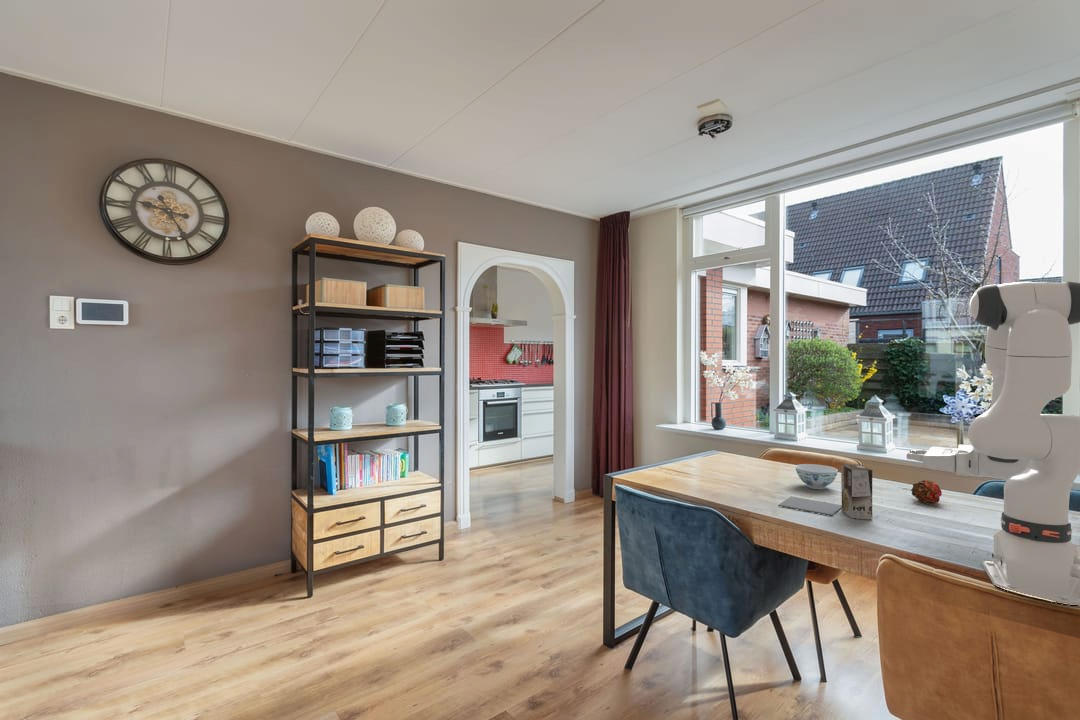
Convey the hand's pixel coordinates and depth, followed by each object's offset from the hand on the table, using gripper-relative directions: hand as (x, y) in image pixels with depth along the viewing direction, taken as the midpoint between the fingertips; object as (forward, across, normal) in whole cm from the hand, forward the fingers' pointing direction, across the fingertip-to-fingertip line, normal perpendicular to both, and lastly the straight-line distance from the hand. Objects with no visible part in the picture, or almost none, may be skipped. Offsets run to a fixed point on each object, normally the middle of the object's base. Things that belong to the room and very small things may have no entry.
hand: (908, 454), depth 159 cm
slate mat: (+28, 0, +22) cm, 36 cm away
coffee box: (+14, 0, +22) cm, 26 cm away
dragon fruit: (-1, -34, +22) cm, 41 cm away
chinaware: (+34, -30, +22) cm, 51 cm away
